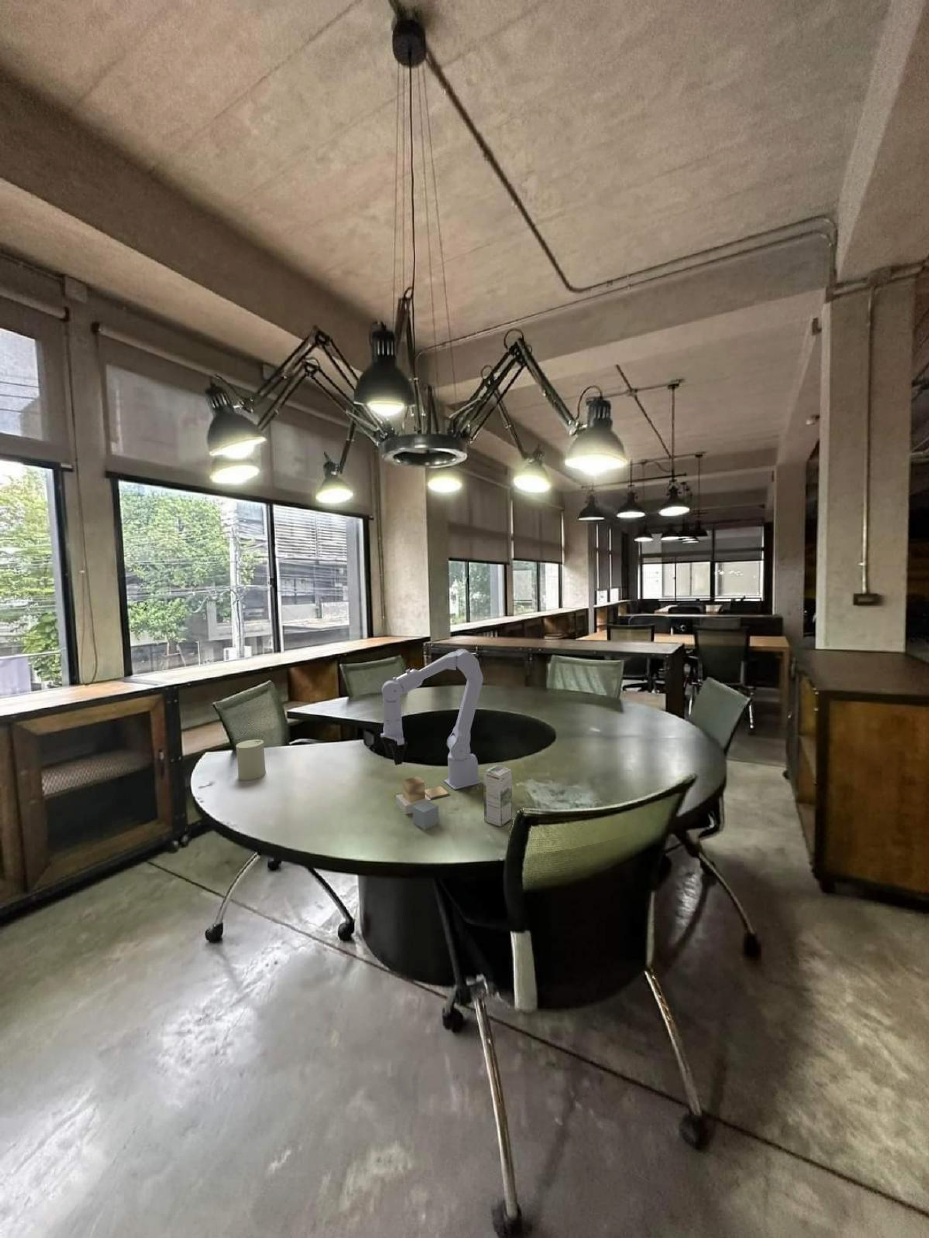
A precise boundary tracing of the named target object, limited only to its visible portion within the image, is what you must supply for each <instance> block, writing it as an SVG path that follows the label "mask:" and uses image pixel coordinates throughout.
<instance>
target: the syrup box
mask: <svg viewBox="0 0 929 1238" xmlns="http://www.w3.org/2000/svg"><path fill="white" fill-rule="evenodd" d="M512 771H513V770H512V769H510V768H507V767H505V766H502V765H493V766H491V767H490V768H488V769H486V770H484V771H483V773H482V775H483V821H484V822H486V823H489V824H491V825H494V826H498V827H500V828H501V827H502V826H504V825H506V824H507V823H509V821H511V820H512V819H513V786H512V785H513V779H512V777H513V776H512V775H513V773H512Z"/></svg>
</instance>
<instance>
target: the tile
mask: <svg viewBox="0 0 929 1238" xmlns="http://www.w3.org/2000/svg"><path fill="white" fill-rule="evenodd" d="M425 794H426V795H427V796H428V797H429V798H430V799H431V801H433V800H436V799H441V798H446V797H449V796H451V793H449V792H448V791H447V790H446V789H444V788H443V787H442V786H441V785H440V786H436V787H432V788H428V789H425Z"/></svg>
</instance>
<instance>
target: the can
mask: <svg viewBox="0 0 929 1238" xmlns="http://www.w3.org/2000/svg"><path fill="white" fill-rule="evenodd" d="M235 749H236V758H237V761H236V762H237V774H238V775H237V777H238V779H239V780H241V781H251V780H256V779H260V778H262V777H264V776H265V775H266V774H267V770H266V761H265V760H266V759H265V743H264V740H263V739H257V738H256V739H249V740H243V741H241V742H239V743H236V744H235Z"/></svg>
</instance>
